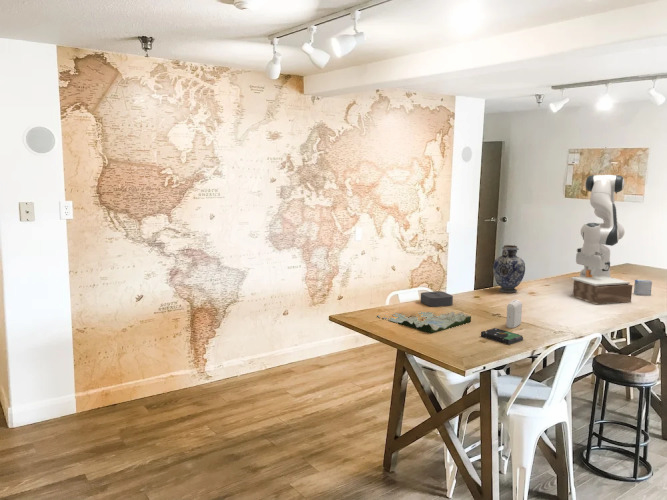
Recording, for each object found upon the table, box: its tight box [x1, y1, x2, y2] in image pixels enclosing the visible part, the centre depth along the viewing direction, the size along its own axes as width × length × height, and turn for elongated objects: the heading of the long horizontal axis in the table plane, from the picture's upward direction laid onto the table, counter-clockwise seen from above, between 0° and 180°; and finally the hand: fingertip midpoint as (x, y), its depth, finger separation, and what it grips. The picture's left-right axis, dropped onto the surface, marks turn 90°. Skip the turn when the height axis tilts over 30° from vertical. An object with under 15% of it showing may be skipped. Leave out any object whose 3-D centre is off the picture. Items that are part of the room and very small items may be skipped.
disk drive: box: [480, 327, 524, 346], centre depth 232 cm, size 10×3×15 cm
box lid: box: [570, 270, 631, 286], centre depth 302 cm, size 20×22×5 cm
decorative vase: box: [492, 244, 526, 294], centre depth 321 cm, size 21×19×28 cm
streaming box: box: [420, 290, 454, 308], centre depth 293 cm, size 14×14×5 cm
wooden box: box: [572, 280, 633, 306], centre depth 301 cm, size 20×22×10 cm
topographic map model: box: [376, 311, 472, 335], centre depth 261 cm, size 36×29×5 cm
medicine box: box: [633, 279, 653, 296], centre depth 313 cm, size 8×4×9 cm, turn 84°
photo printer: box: [506, 299, 523, 329], centre depth 250 cm, size 10×4×12 cm, turn 140°
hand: (589, 274), depth 311 cm, fingers closed on box lid, 2 cm apart
